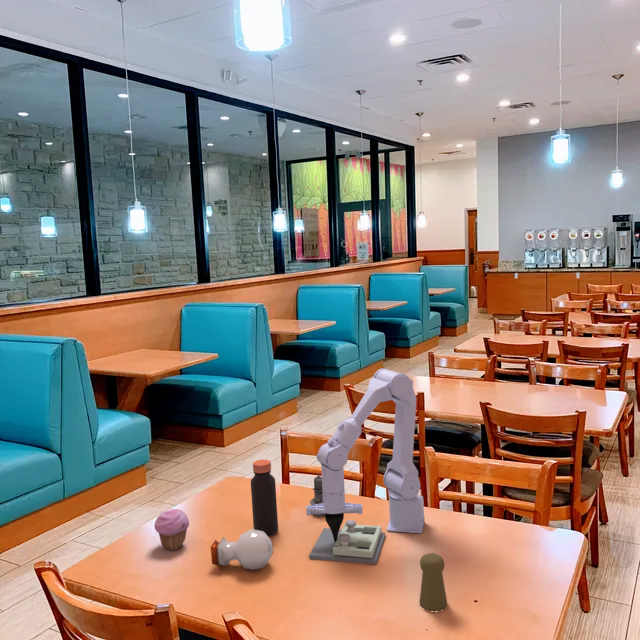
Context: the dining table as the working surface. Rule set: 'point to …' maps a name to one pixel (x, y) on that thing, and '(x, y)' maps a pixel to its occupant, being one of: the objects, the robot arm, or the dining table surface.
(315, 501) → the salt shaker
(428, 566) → the olive pawn
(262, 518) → the vinegar
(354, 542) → the panel
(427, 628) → the dining table surface
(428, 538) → the dining table surface
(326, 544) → the boss board
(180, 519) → the cupcake
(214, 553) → the potion bottle
